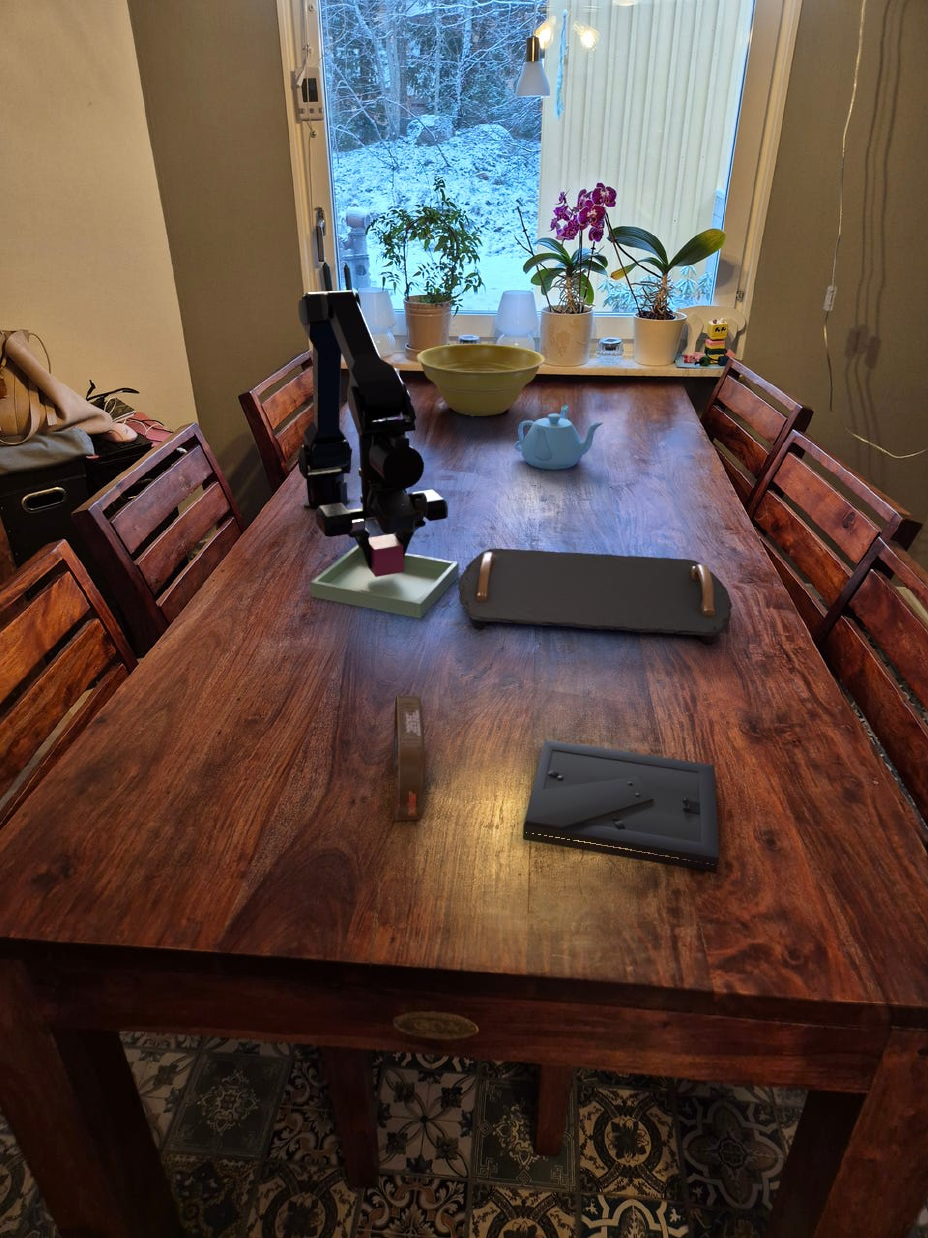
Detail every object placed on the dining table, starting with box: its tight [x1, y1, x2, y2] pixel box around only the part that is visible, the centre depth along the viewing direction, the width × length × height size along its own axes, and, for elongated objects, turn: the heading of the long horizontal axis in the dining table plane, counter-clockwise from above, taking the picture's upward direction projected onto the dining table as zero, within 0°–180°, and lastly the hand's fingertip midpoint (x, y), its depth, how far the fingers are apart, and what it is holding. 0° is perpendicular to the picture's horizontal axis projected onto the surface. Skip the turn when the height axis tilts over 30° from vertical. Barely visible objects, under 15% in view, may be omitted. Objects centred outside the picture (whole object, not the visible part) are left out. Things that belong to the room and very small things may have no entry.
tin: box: [392, 693, 426, 822], centre depth 82 cm, size 15×3×8 cm, turn 5°
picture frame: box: [522, 739, 720, 873], centre depth 81 cm, size 13×2×18 cm
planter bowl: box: [415, 343, 545, 417], centre depth 208 cm, size 32×32×13 cm
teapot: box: [514, 404, 604, 470], centre depth 173 cm, size 15×15×10 cm
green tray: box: [309, 544, 460, 620], centre depth 123 cm, size 18×15×2 cm
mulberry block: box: [366, 533, 404, 577], centre depth 123 cm, size 4×4×4 cm
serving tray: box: [457, 548, 733, 646], centre depth 117 cm, size 39×23×6 cm, turn 83°
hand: (384, 565), depth 124 cm, fingers closed on mulberry block, 4 cm apart
